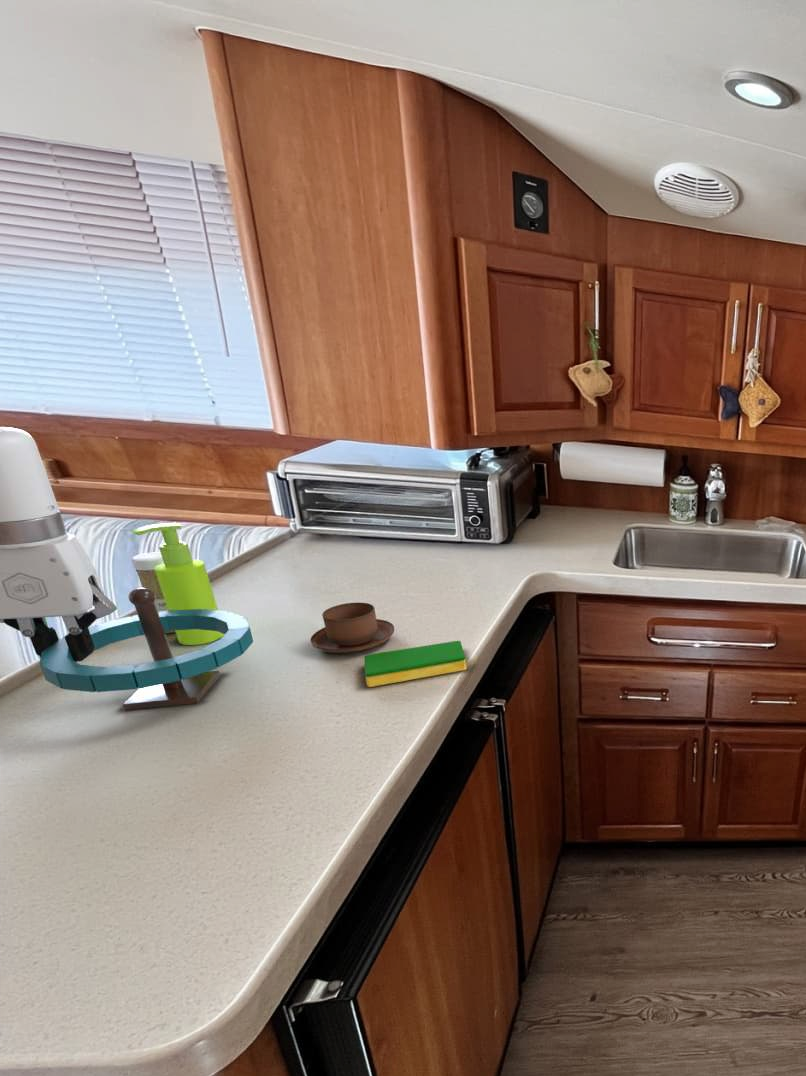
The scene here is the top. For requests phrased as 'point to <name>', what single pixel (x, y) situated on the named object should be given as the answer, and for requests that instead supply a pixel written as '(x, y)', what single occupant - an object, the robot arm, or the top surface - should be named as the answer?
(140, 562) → the sprinkles bottle
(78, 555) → the robot arm
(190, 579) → the soap dispenser
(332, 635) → the cup and saucer
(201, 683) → the wooden peg stand
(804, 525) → the top surface
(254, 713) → the top surface
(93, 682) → the hoop
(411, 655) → the dish sponge
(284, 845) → the top surface
